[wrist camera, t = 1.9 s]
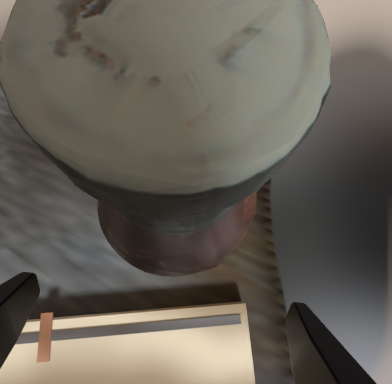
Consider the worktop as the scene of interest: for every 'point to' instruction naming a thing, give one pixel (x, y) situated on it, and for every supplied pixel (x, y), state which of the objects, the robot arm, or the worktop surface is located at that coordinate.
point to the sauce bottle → (167, 111)
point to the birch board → (135, 348)
